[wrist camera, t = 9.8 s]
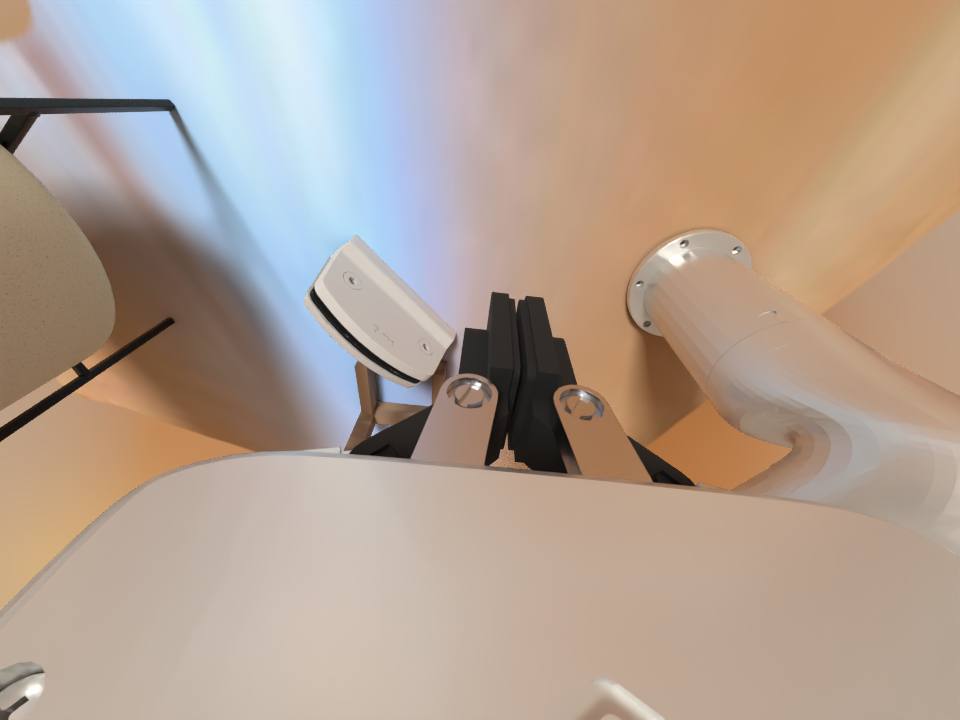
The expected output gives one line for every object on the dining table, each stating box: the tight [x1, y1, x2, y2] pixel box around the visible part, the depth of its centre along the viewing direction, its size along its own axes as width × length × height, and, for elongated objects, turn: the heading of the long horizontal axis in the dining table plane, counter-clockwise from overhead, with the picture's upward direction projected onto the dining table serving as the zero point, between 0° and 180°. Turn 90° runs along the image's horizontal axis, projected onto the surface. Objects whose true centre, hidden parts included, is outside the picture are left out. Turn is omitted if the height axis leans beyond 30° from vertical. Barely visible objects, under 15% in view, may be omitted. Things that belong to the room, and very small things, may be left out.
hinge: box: [304, 235, 456, 388], centre depth 38 cm, size 17×5×10 cm, turn 40°
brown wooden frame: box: [344, 361, 447, 451], centre depth 42 cm, size 12×11×20 cm
